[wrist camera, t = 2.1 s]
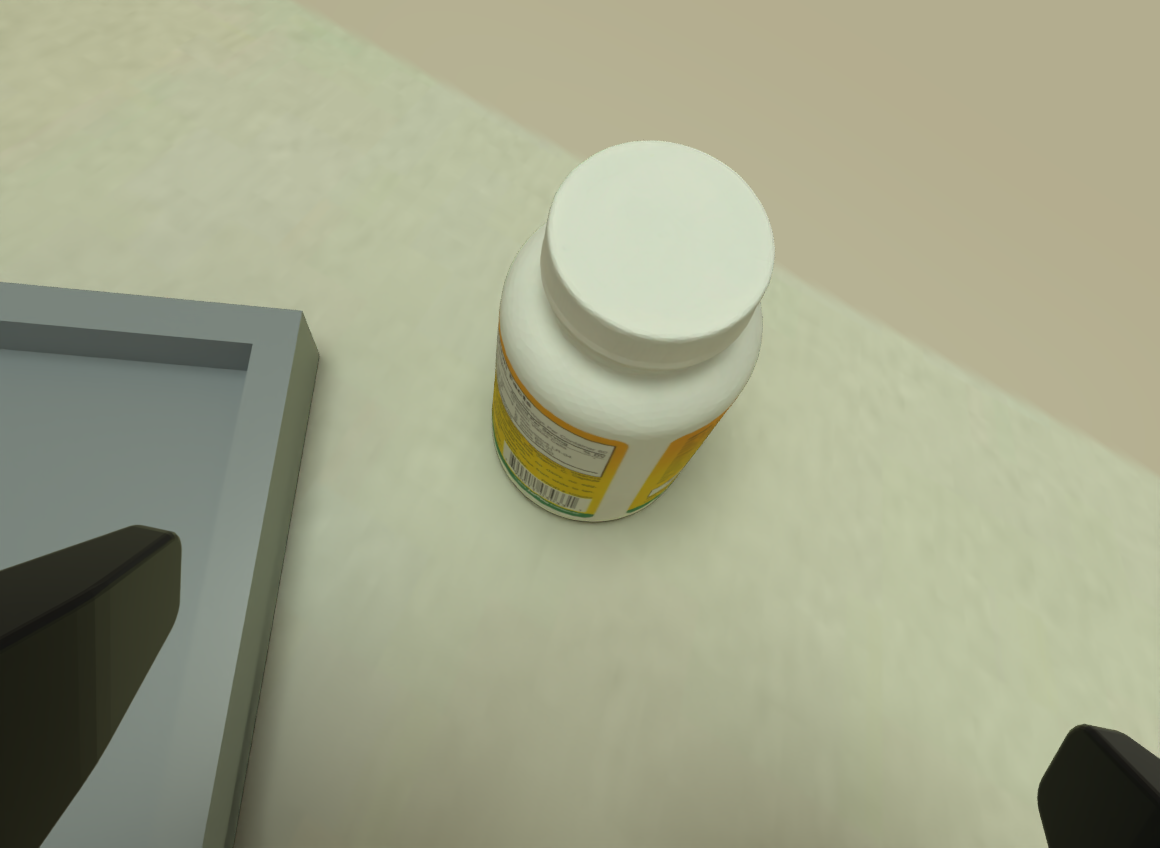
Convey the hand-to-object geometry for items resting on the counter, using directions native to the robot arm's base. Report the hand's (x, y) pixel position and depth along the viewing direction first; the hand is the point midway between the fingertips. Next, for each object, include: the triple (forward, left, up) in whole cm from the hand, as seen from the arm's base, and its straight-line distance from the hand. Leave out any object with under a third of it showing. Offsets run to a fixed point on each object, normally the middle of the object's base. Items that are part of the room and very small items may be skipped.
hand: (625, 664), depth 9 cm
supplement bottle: (+7, -1, -13) cm, 15 cm away
